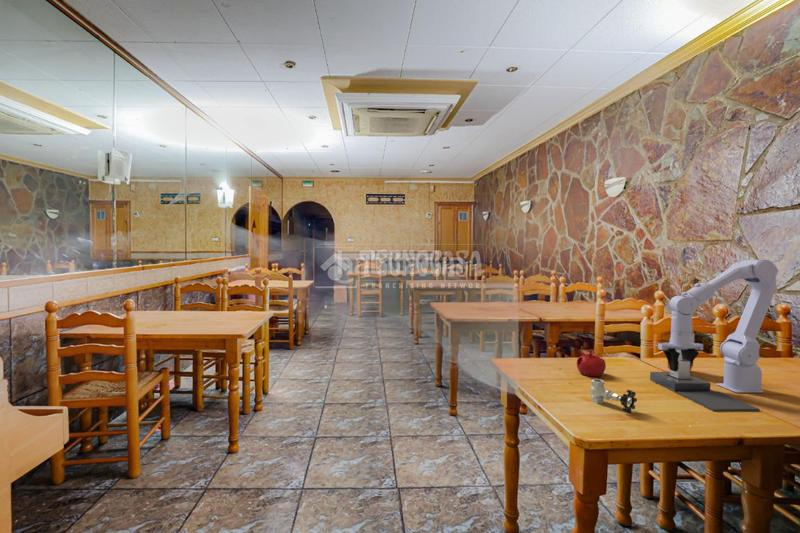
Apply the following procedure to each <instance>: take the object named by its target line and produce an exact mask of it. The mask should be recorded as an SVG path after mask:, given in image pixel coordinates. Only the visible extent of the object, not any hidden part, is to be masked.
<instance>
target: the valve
mask: <svg viewBox="0 0 800 533" xmlns="http://www.w3.org/2000/svg"><path fill="white" fill-rule="evenodd" d="M589 392H590V396H591V402H592V403H594V404H598V405H599V404H601V405H602V404H603V405H604V399H605V400H608V401H609V400H611V399H612V400H613V401H617V402H620V405H622V406H623V407H622V412H625V413H626V414H631V413H632V410H635V409H636V405H635V403H637V401H638V399H637V397H635V396H636V392H635V391H633V390H631V389H626V392H627V394H626V393H623V394H622V395H621V396H620V394H617V393H613V392H612V390H611V389H608V388H607V389H605V380H603V379H599V378H593V379H591V386H590V389H589Z"/></svg>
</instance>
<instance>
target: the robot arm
mask: <svg viewBox="0 0 800 533" xmlns="http://www.w3.org/2000/svg"><path fill="white" fill-rule="evenodd" d="M778 273H779V268H778V267H777V266H776V265H775V263H774V262H773V261H771V260H770V259H766V258H765V259H750V258H749V259H747V258H742V259H739V260H738V261H737V262H735V263H732V264H731V265H730V267H728V268H727V269H726V270H724V271H723V272H721V273H720V274H718V275H717V276H715V277H714V278H713V279H711V280H710V281H708V282H706V283H705V282H700V283H699V282H698V283H697V282H696V283H695V284H693V287H692V288H690V289H688V290H687V291H682V292H681V293H680V294H681V295H676V296H673V297H671V299H670V301H669V302H668V303H667V305H668V306H667V307H668V308H669V310H670V311H671V322H670V323H671V324H670V338H671V341H670V342H669V341H667V342H661V343H659V342H658V343H657V349H658V350H661V351H663V354H664V356H665V357H666V360H667V364H668V363H669V367H670V370H672V371H676V370H677V362H678V358H679V355H680V353H678V352H677V351H676V350H681V353H682V359H685V360H688V361H690V367H691V365H692V363H693V364H694V362H695V359H696V358H697V357H698V356H699V351H704V344H703V343H699V342H698V343H697V342H694V343H691V333H692V327H693V314H694V313H695V312H696V311H697V309H698V307H699V306H701V305H702V304H704V303H706V302H707V301H709V300H711V299H712V298H714V297H715V295H716V291H719V290H720V289H722V288H724V287H726V286H727V285H730V284H731V283H733V282H735V281H737V280H739V279H740V280H744V281H745V282H746V283H747V284H748V285H749V286H750V288H751V292H750V295H749V297H748V299H747V301H746V304H745V307H744V308H743V311H742V314H741V316H740V319H739V321H738V324H737V326H736V327H735V328H736V329H735V331H734V332H732V333H730V334H729V335H727V337H726V339H725V340H724V341H723V342H722V343H721V344H720V346H719V352H720V354H721V355H722V356H723V360H724V361H723V362H724V365H723V382H717V383H716V385H717V386H720V387H722V388H723V389H724V388H725V389H726V390H729V391H731V392H734V393H738V394H739V393H740V394H741V393H742V394H743V393H752V394H753V393H760V394H761V393H764V390H762V381H763V380H762V378H763V374H762V373H763V372H762V370H761V368H760V366H759V365H758V364H757V362H758V361H759V359H760V348H761V345H760V343H759V341H758V340H757V337H758V333H760V329H761V327H762V324H763V322H764V320H765V317H766V314H767V312H768V311H769V308H770V305H771V302H772V300H773V297H774V296H775V293H776V291H777V275H778ZM670 370H669V371H670Z"/></svg>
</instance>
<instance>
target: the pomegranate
mask: <svg viewBox="0 0 800 533" xmlns="http://www.w3.org/2000/svg"><path fill="white" fill-rule="evenodd" d="M600 356H602V355H601V354H600V353H595V352H593V350H592V349H589V350H588V351H585V353H583V352H582V353H580V354H579V358H577V360H576V368H577V370H578V372H579V373H580V374H581V375H583V376H585V377H586V376H587V377H592V378H593V377H594V378H595V377H600V376H602V375H604V372H605V371H606V369H607V368H606V366H607V364H606V361H605V359H604V358H601V357H600Z"/></svg>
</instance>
